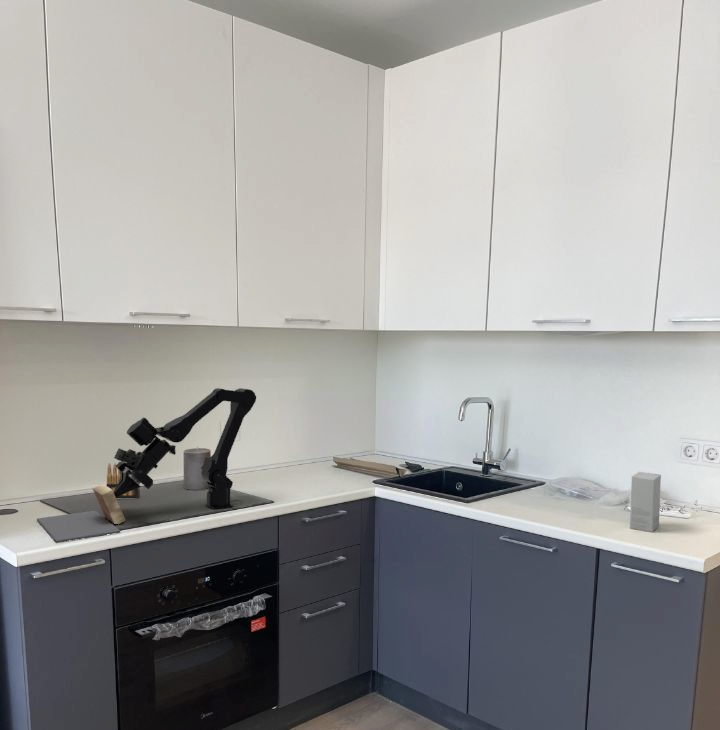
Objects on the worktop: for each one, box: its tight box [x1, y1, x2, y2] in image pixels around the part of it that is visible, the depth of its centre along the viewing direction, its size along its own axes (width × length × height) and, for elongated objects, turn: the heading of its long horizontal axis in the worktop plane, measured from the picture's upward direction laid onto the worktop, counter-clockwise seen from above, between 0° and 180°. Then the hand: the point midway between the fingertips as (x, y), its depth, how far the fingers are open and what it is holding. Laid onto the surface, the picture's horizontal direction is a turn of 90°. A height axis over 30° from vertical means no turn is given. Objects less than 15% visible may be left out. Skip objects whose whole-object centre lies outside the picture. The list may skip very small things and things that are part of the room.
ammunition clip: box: [105, 462, 141, 499], centre depth 210 cm, size 11×2×12 cm, turn 96°
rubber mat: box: [36, 510, 121, 544], centre depth 176 cm, size 16×26×1 cm, turn 37°
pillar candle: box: [183, 446, 212, 491], centre depth 227 cm, size 10×10×15 cm
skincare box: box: [629, 471, 662, 533], centre depth 182 cm, size 8×7×16 cm
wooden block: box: [92, 483, 126, 525], centre depth 181 cm, size 3×10×10 cm, turn 39°
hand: (112, 497), depth 181 cm, fingers closed
